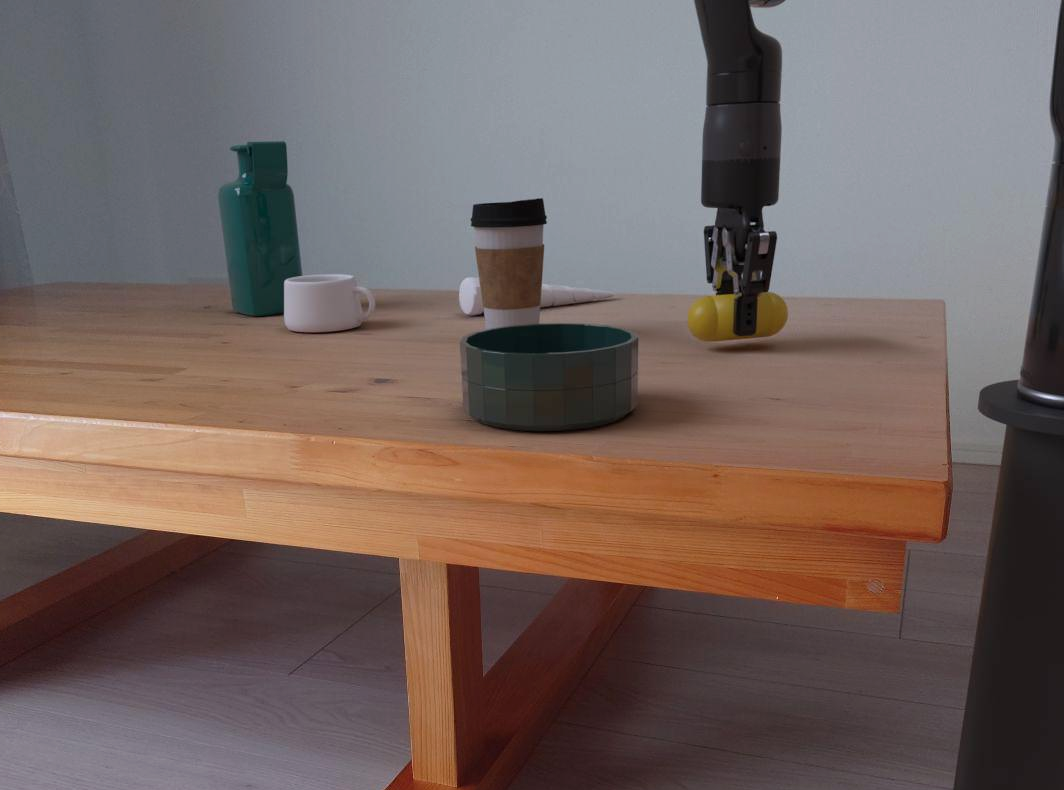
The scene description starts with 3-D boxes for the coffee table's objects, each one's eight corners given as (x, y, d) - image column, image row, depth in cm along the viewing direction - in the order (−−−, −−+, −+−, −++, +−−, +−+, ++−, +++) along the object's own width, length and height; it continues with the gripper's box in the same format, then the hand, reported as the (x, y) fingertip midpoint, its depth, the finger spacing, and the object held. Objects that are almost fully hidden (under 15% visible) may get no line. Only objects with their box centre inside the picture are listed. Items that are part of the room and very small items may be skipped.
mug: (270, 333, 123) (264, 282, 121) (308, 320, 132) (303, 273, 129) (360, 335, 120) (355, 283, 117) (393, 322, 128) (389, 273, 126)
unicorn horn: (630, 301, 139) (630, 265, 137) (472, 318, 129) (470, 280, 128) (613, 297, 143) (612, 262, 141) (458, 314, 133) (455, 276, 132)
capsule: (784, 344, 106) (773, 308, 108) (799, 316, 102) (787, 280, 103) (688, 352, 104) (678, 316, 106) (699, 325, 100) (688, 288, 102)
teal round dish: (653, 396, 86) (654, 325, 84) (611, 439, 74) (611, 357, 71) (500, 388, 90) (498, 321, 88) (436, 427, 78) (431, 350, 76)
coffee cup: (527, 346, 110) (522, 201, 104) (461, 341, 113) (454, 201, 108) (562, 333, 116) (560, 196, 111) (499, 329, 120) (494, 197, 115)
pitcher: (228, 312, 141) (205, 143, 133) (282, 305, 146) (264, 142, 138) (259, 318, 134) (238, 141, 126) (316, 311, 139) (298, 140, 131)
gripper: (809, 152, 92) (798, 340, 98) (749, 154, 105) (742, 319, 111) (731, 155, 91) (725, 345, 97) (680, 157, 104) (677, 324, 110)
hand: (734, 330), depth 104 cm, fingers closed on capsule, 4 cm apart
